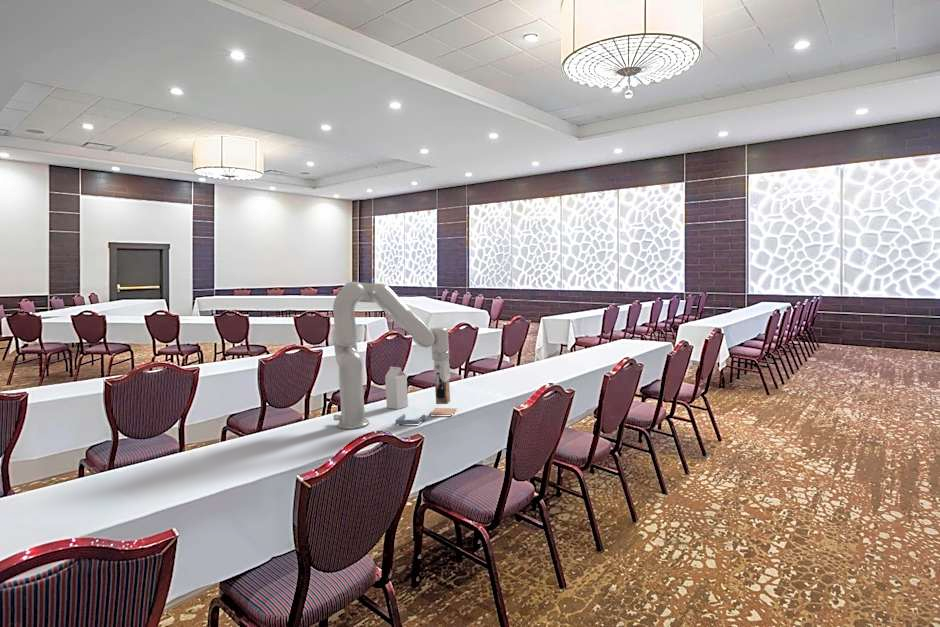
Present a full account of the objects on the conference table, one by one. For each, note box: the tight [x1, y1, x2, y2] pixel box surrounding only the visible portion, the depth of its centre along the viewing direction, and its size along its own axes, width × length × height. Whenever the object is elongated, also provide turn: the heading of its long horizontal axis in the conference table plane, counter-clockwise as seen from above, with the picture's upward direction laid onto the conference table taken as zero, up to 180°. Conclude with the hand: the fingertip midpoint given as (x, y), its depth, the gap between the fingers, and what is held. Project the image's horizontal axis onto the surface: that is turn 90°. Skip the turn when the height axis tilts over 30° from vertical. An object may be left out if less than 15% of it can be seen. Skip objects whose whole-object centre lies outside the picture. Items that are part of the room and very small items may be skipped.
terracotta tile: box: [428, 407, 458, 416], centre depth 239 cm, size 10×10×1 cm
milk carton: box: [384, 366, 409, 410], centre depth 252 cm, size 7×7×19 cm
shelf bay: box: [395, 414, 426, 425], centre depth 227 cm, size 10×9×2 cm
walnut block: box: [434, 379, 451, 405], centre depth 238 cm, size 5×5×10 cm
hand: (442, 396), depth 238 cm, fingers closed on walnut block, 5 cm apart
